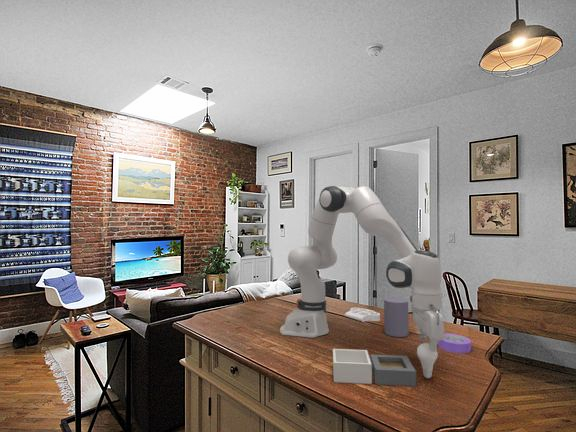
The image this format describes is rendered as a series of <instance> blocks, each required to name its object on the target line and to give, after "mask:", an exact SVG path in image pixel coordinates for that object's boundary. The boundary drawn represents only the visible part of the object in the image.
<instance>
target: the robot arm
mask: <svg viewBox="0 0 576 432" xmlns="http://www.w3.org/2000/svg"><path fill="white" fill-rule="evenodd" d="M349 213H353V214H354V217H355V218H356V221H357V222H358V225H359V227H361V229H363V231H364V232H365V233H367V234H369V235H371V236H374V237H377V238H380V239H383V240H385V241H387V242H389V243H390V244H392V245H393V247H394V248H395V250H396V251H397V252H398V255H400V257H401V258H400V259H395V260H392V261H391V262H389V263H388V265H387V267H386V269H385V276H386V279H387V282H388V283H389V284H390V285H391V286H392V287H394V288H397V289H398V288H399V289H404V288H405V289H407V288H410V289H411V294H410V296H409V300H410V303H411V311H412V313H411V314H412V320H413V322H414V323H415V324H416V325H417V327H418V328H417V329H418V332H419V339H420V340H421V341H422V342H427V341H428V338H429V343H430V344H429V349H430V351H432V352H436V351H437V352H438V350H437V347H438V341H442V340H444V334H445V327H444V326H445V325H444V319H443V315H442V314H441V313H440V312H439V310H442V309H443V296H442V295H443V293H442V288H441V282H442V269H441V261H440V259H439V256H438V254H436V253H434V252H432V251H428V250H418V249H417V246H415V244H414V243H413V241H412V240H411V239H410V237H409V236H408V235H407V234H406V231H404V229H403V228H402V227H401V226H400V224H399V223H397V222H396V221H395V219H393V218H392V216H391V214H390V213H389V212H388V211H387V209H386V208H385V206H384V205H383V203H382V201H381V200H380V199H379V197H378V196H377V195H376V194H375V192H374V191H373V190H372V189H371V188H370V187H369V186H365V185H362V186H359V187H352V186H347V185H344V186H343V185H342V186H341V185H339V186H336V185H332V186H326V187H324V188H323V189H322V190H321V192H320V194H319V198H318V200H317V202H316V204H315V207H314V209H313V211H312V214H311V219H310V222H309V226H308V230H307V232H308V235H309V236H310V238H311V239H312V241H313V242H312V245H309V246H298V247H295V248H293V249H291V250H290V251H289V253H288V256H287V263H288V265H289V267H290V269H292V270H293V271H294V272H295V273H296V275H297V277H298V278H299V283H300V292H301V294H300V295H301V296H300V297H301V298H297V299H296V308H295V309H294V310H292V311H291V312H290V313H289V314H287V316H286V318H285V321H284V324H282V325H281V326H280V328H279V332H280V334H281V335H282V336H284V335H285V336H292V337H293V336H294V337H301V338H302V337H303V338H313V339H314V338H316V337H321V336H323V335H327V334H329V332H330V329H329V326H328V320H327V319H328V318H327V314H326V313H327V312H328V311H327V300H326V283H325V282H324V280H323V279H321V278H319V276H318V273H317V270H326V269H329V268H331V267H333V266H335V264H336V263H337V260H338V255H337V252H336V249H334V247H333V241H332V240H333V237H334V236H333V235H334V232H335V228H336V224H337V220H338V217H339V214H349Z"/></svg>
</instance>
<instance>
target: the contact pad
mask: <svg viewBox="0 0 576 432" xmlns="http://www.w3.org/2000/svg"><path fill="white" fill-rule="evenodd" d="M379 363H380V365H381V367H390V368H403V366H402V364H401V363H391V362H379Z"/></svg>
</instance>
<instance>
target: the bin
mask: <svg viewBox="0 0 576 432" xmlns="http://www.w3.org/2000/svg"><path fill="white" fill-rule="evenodd" d="M332 373H333V382H334V383H343V384H344V383H345V384H346V383H347V384H365V385H366V384H368V385H371V384H372V383H373V382H372V381H373V377H372V376H373V374H372V364H371V357H370V355H369V351H368V350H367V349H348V348H347V349H346V348H332Z"/></svg>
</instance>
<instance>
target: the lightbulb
mask: <svg viewBox="0 0 576 432" xmlns="http://www.w3.org/2000/svg"><path fill="white" fill-rule="evenodd" d="M429 344H430V342H422V343H421V344H419V345H418V346H417V350H416V355H417V357H418V358H419V361H420V363H421V369H422V375H423V376H424V378H426V379H430V378H432V377H433V376H432V375H433V369H434V364H435V363H436V361H437V359H438V355H439V354H438V350H437V351H436V352H432V351H430V349H429Z"/></svg>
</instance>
